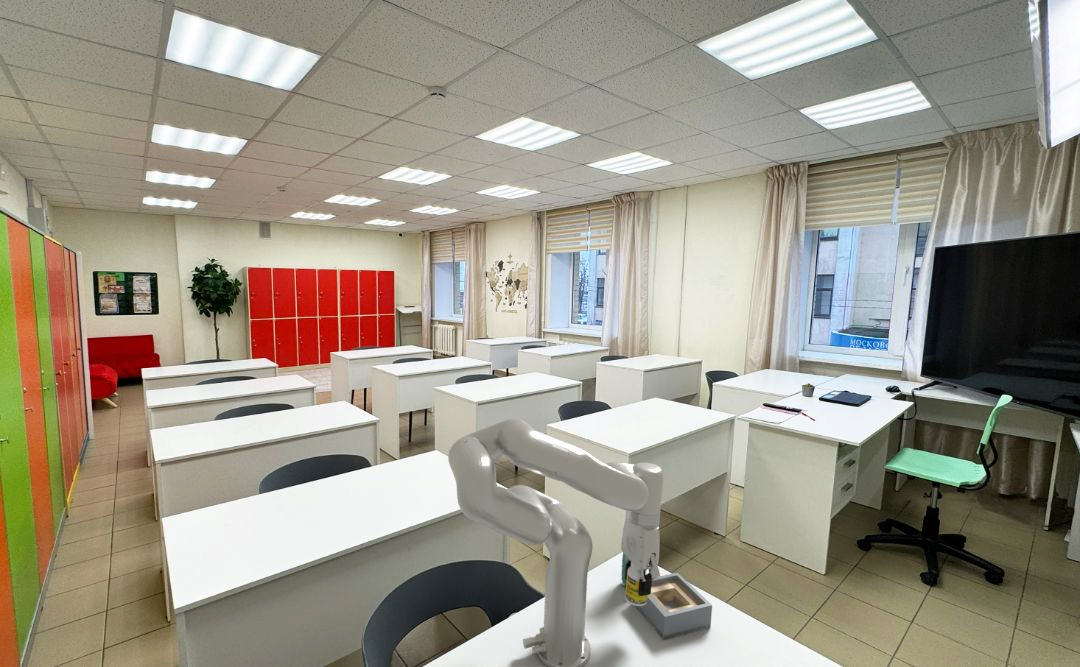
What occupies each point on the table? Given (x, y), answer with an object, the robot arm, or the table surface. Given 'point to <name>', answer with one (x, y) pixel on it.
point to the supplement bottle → (634, 586)
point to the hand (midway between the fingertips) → (637, 585)
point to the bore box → (676, 607)
